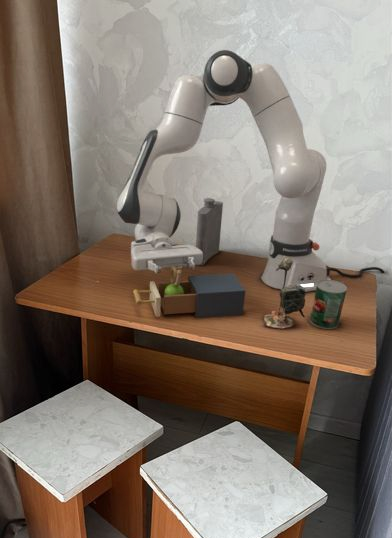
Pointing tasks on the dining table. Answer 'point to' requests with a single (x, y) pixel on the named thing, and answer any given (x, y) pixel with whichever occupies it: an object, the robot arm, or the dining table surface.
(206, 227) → the hip flask
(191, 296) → the drawer
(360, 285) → the dining table surface
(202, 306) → the cabinet
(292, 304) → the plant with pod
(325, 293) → the canned tomato
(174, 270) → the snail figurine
